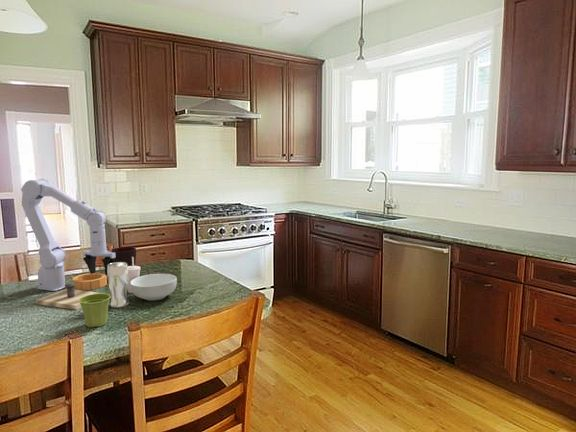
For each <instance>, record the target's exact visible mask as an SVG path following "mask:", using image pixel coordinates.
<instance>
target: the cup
mask: <svg viewBox="0 0 576 432" xmlns="http://www.w3.org/2000/svg"><path fill="white" fill-rule="evenodd" d="M110 252H113V253H115V255H116V259H115V261H114V263H115V262H125V263H127V267H128V266H132V257H134V266H136V262H137V248H136V247H134V246H121V247H115V248H112V249H111V251H110ZM104 258H106V257H104Z"/></svg>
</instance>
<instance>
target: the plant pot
mask: <svg viewBox="0 0 576 432" xmlns="http://www.w3.org/2000/svg"><path fill="white" fill-rule="evenodd" d="M99 293H100V294H91V295H87V296H84V297H81V298H80V299H79V300H78V301H79V303H80V304H81V310H82V313H83V317H84V323H85V325H86V327H87V328H94V327H103V326H104V325H106V324H107V321H108V315H109V304H110V299H111V294H108V293H104V292H99ZM103 293H104V294H103Z"/></svg>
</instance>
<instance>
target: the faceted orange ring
mask: <svg viewBox="0 0 576 432" xmlns="http://www.w3.org/2000/svg"><path fill="white" fill-rule="evenodd" d="M71 283H76V285H75V286H74V290H82V291H91V290H97V289H100V288H102V287H105V286H107V284H108V277H107V275H105V273H101V272H95V273H93V274H90V272H87V273H84V274H78V275H76V276H74V277H73V278H72V280H71Z"/></svg>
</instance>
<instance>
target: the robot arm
mask: <svg viewBox="0 0 576 432" xmlns="http://www.w3.org/2000/svg"><path fill="white" fill-rule="evenodd" d="M20 191H21V192H22V194H21V195H22V197H21V206H22V209H23V211H24V213H25V216H26V218H27V220H28V222H29V224H30V227H31V230H32V232H33V233H34V235H35V237H36V240H37V243H38V245H39V248H38V249H39V250H38V254H39V263H40V265H41V266H40V267H39V269H38V271H37V280H38V281H37V282H38V287H36V289H37V290H41V291H42V290H45V291H52V292H58V291H59V290H60V291H61V290H63V289H66V287H65V284H66V278H65V277H66V276H65V275H66V274H65V264H64V261H65V259H66V258H67V255H66V252H65V250H64V249H63V248H62V246H61V245H60V244H59V243H58V242H56V241H55V240H54V237H53V234H52V232H51V231H50V230H51V229H50V228H49V226H48V223H47V221H46V218H45V216H44V214H43V212H42V209H41V207H40V204H41V202H42V200H43V198H44V197H52V198H54V199H55V200H57V201H58V202H60V203H62V204H64V205H66V206H67V207H69V208H70V212H71V213H73V214H74V215H76V216H77V217H79V218H81V219H82V220H84V221H86V224H87V225H88V227H89V241H90V250H86V249H85V250H84V251H82V256H83V258H82V260H83V261H84V262H85V264H86V266H87V268H88V271H89V273H90V274H93V273H97V272H96V269H97V268H96V267H97V266H96V262H97V257H99V258H102V259H101V262H102V264H103V267H104V274H105V275H107V269H108V266H107V265H108V264H110V263H114V261H115V259H116V255H115V253H113V252H112V251H109V250H107V240H106V239H107V237H106V225H105V223H106V221H107V216H106V214H105V213H104V212H103V211H102V210H97V208H96V207H94V208H93V207H92V206H90V205H89V204H87V201H86V200H81V199H78V200H76V199H75V198H73V197H71V196H70V195H69V194H67V193H66V192H64V191H63V190H61V188H59V187H58V186H56V185H55V184H54V183H52V182H50V181H48V180H47V179H44V178H40V179H34V180H33V179H30V180H27V181H26V182H24V184H23V185H22V187H21V189H20ZM105 257H106V258H105Z"/></svg>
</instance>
